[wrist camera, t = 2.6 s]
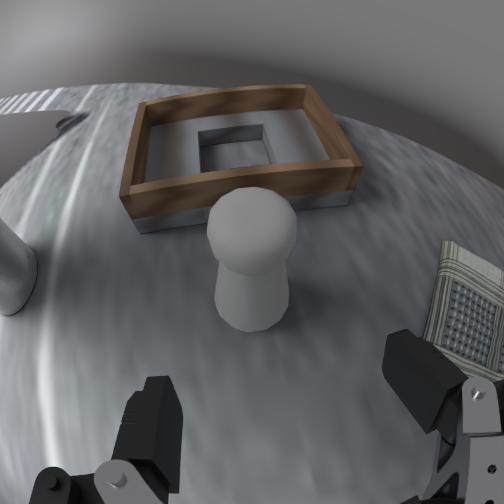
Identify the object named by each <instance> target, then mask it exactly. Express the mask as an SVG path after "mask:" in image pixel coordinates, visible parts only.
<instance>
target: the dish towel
mask: <svg viewBox="0 0 504 504" xmlns="http://www.w3.org/2000/svg"><path fill="white" fill-rule="evenodd" d="M422 339H425V340H427V341H429V342H431V343H432V344H433V345H434V346H435V347H436V348H438V349H439V351H441V352H442V353H443V354H444V355H445V357H447V358H449V359H450V360H451V361H452V362H453V363H454V364H455V365H456V366H457V367H458V368H459V369H460V370H461V371H462V372H464V373H465V374H466V375H467V376H468V377H469V378H472V377H484V378H486V379H488V380H490V381H491V382H492V383H493V382H496V381H499V380H502V379H504V271H502V270H500V269H499V268H497V267H495V266H494V265H493V264H491V263H489V262H488V261H486V260H484V259H482V258H480V257H479V256H477V255H474V254H473V253H471V252H469V251H467V250H466V249H464V248H462V247H460V246H459V245H457V244H456V243H455V242H453V241H451V240H450V241H443V243H442V247H441V254H440V261H439V267H438V273H437V277H436V282H435V288H434V291H433V296H432V301H431V306H430V310H429V314H428V319H427V322H426V326H425V330H424V333H423V336H422Z"/></svg>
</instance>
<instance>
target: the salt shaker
mask: <svg viewBox="0 0 504 504" xmlns="http://www.w3.org/2000/svg"><path fill="white" fill-rule="evenodd" d="M207 236H208V239H209V242H210V245H211V248H212V251H213V254H214V256H215V258H216V259H217V260H219V268H218V274H217V280H216V288H215V296H214V301H215V304H216V307H217V310H218V313H219V315H220V316H221V317H222V318H223V319H224V320H225V321H226V322H227V323H228V324H229V325H230V326H231V327H233V328H235V329H238V330H242V331H245V332H248V333H250V332H257V331H264V330H266V329H268V328H269V327H271V326H273V325H274V324H275V323H277V322H278V321H280V320H281V318H282V316H283V315H284V313H285V311H286V309H287V307H288V304H289V285H288V278H287V271H286V264H285V262H286V261H287V259H288V257H289V255H290V254H291V252H292V250H293V248H294V246H295V244H296V241H297V215H296V214H295V212H294V210H293V209H292V207H291V205H290V204H289V202H288V201H287V200H286V199H284V198H283V197H282V196H280V195H279V194H277V193H276V192H274V191H272V190H268V189H263V188H259V187H248V188H238V189H235V190H233V191H232V192H230V193H228V194H226V195H224V196H222V197H221V198H220V199H219V200H218V201H217V202H216V204H215V205H214V206H213V207H212V208H211V210H210V214H209V220H208V225H207Z"/></svg>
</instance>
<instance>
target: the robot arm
mask: <svg viewBox="0 0 504 504" xmlns="http://www.w3.org/2000/svg"><path fill="white" fill-rule="evenodd" d="M36 276H37V259H36V255H35V253H34V252H33V250H32V249H31V248H30V247H28V246H27V245H26V244H25V243H24V242H23V241H22V240H21V239H20V238H19V237H18V236H17V235H16V234H15V233H14V232H13V231H12V230H11V229H10V228H9V227H8V226H7V225H6V224H5V223H4V221H3V220H2V219H1V218H0V314H2V315H5V316H6V315H12V314H14V313H16V312H17V311H19V310H20V309H21V308H22V306H23V305H24V304H25V303H26V301H27V300H28V298H29V296H30V294H31V292H32V290H33V287H34V284H35V280H36ZM382 371H383V375H384V378H385V379H386V381H387V382H388V383H389V385H390V386H391V387H392V389H393V390H394V391H395V393H396V394H397V395H398V397H399V398H400V399H401V401H402V402H403V403H404V405H405V406H406V407H407V409H408V410H409V411H410V413H411V414H412V415H413V417H414V418H415V419H416V421H417V422H418V424H419V425H420V426H421V428H422V429H423V430H424V432H425V433H426V435H427V434H428V433H430V432H432V431H434V430H436V429H437V430H438V431H439V434H438V437H437V443H436V451H435V458H434V465H433V471H432V476H431V479H430V482H429V484H428V486H427V488H426V490H425V493H424V495H423V498H422V500H419V498H418V496H417V495H416V496H414V497H412V498H410V499H408V500H406V501H404V502H402V503H400V504H504V379H502V380H499V381H496V382H493V383H492V382H491V381H490V380H488V379H486V378H484V377H472V378H469V377H468V376H467V375H466V374H465V373H464V372H462V371H461V370H460V369H459V368H458V367H457V366H456V365H455V364H454V363H453V362H452V361H451V360H450V359H449V358H447V357H445V355H444V354H443V353H442V352H441V351H439V349H438V348H436V347H435V346H434V345H433V344H432V343H431V342H429V341H427V340H425V339H422V338H420V337H419V338H417V337H416V336H415V335H414V334H413V333H412V332H411V331H409V330H408V329H403V330H400V331H397V332H394V333H391V334H389V335H388V336H387V340H386V346H385V352H384V358H383V363H382ZM121 422H122V424H121V425H120V428H119V432H118V435H117V439H116V443H115V447H114V451H113V455H112V458H111V460H110V461H107V462H105V463H103V464H102V465H100V466H99V467H98V469H97V470H96V472H95V473H92V474H86V475H77V476H70V475H68V474H67V473H66V472H65V471H64V470H63V469H61V468H58V467H48V468H45V469H43V470H42V471H41V472H40V473H39V474H38V476H37V478H36V480H35V484H34V487H33V491H32V494H31V498H30V502H29V504H168V496H169V493H177V494H179V482H180V460H181V443H182V428H183V412H182V407H181V404H180V402H179V399H178V397H177V394H176V392H175V389H174V386H173V384H172V381H171V379H170V377H169V376H153V377H147V379H146V382H145V385H144V389H143V391H135V393H134V394H133V395H132V396H131V397H130V399H129V400H128V401H127V404H126V407H125V411H124V415H123V418H122V421H121Z"/></svg>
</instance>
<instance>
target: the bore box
mask: <svg viewBox="0 0 504 504" xmlns="http://www.w3.org/2000/svg"><path fill="white" fill-rule="evenodd" d="M259 139H263V142H264V145H265V148H266V151H267V154H268V157H269V160H270V164H268V165H259V166H250V167H241V168H233V169H225V170H218V171H211V172H204V173H202V166H201V153H200V147H201V146H208V145H215V144H222V143H230V142H239V141H248V140H259ZM362 169H363V164H362V162H361V161H360V159H359V157H358V155H357V154H356V152H355V150H354V149H353V147H352V145H351V144H350V142H349V140H348V139H347V137H346V136H345V134H344V132H343V131H342V129H341V128H340V126H339V125H338V123H337V122H336V120H335V119H334V117H333V116H332V114H331V113H330V111H329V110H328V108H327V107H326V105H325V104H324V102H323V101H322V100H321V98H320V97H319V95H318V94H317V93H316V91H315V90H314V89H313V87H312V86H311V85H308V84H307V85H304V84H294V85H293V84H291V85H290V84H288V85H260V86H245V87H234V88H224V89H215V90H207V91H200V92H193V93H187V94H181V95H176V96H170V97H165V98H160V99H155V100H151V101H146V102H142V103H139V106H138V109H137V113H136V117H135V121H134V125H133V129H132V133H131V137H130V141H129V146H128V150H127V155H126V160H125V165H124V170H123V175H122V181H121V187H120V193H119V198H120V200H121V201H122V203H123V205H124V207H125V209H126V210H127V212H128V214H129V216H130V218H131V219H132V221H133V223H134V225H135V226H136V228H137V230H138V231H139V233H140V234H142V233H147V232H153V231H159V230H165V229H171V228H178V227H184V226H190V225H197V224H203V223H208V220H209V214H210V210H211V208H212V207H213V206H214V205H215V204H216V202H217V201H218V200H219V199H220V198H221V197H222V196H224V195H226V194H228V193H230V192H232V191H233V190H235V189H238V188H248V187H259V188H263V189H268V190H272V191H274V192H276V193H277V194H279V195H280V196H282V197H283V198H284V199H286V200H287V201H288V202H289V204H290V205H291V207H292V209H293V210H294V211H299V210H307V209H316V208H325V207H334V206H344V205H348V202H349V200H350V198H351V195H352V193H353V191H354V188H355V186H356V184H357V181H358V179H359V176H360V174H361V171H362Z"/></svg>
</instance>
